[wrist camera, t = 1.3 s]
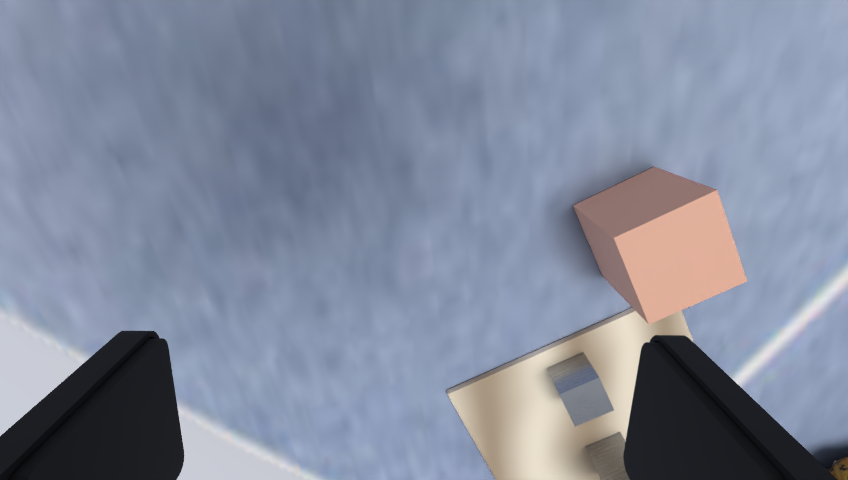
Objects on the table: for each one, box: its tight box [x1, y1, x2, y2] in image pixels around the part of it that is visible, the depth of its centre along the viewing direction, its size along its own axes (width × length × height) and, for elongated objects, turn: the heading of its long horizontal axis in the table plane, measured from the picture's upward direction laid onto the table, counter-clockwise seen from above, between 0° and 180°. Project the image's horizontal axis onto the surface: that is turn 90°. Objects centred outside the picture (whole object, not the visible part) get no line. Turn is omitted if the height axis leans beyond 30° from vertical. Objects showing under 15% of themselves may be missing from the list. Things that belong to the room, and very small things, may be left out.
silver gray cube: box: [547, 352, 614, 427], centre depth 33 cm, size 3×3×3 cm
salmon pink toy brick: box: [573, 167, 747, 324], centre depth 28 cm, size 5×5×7 cm
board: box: [447, 308, 694, 480], centre depth 35 cm, size 16×13×1 cm
